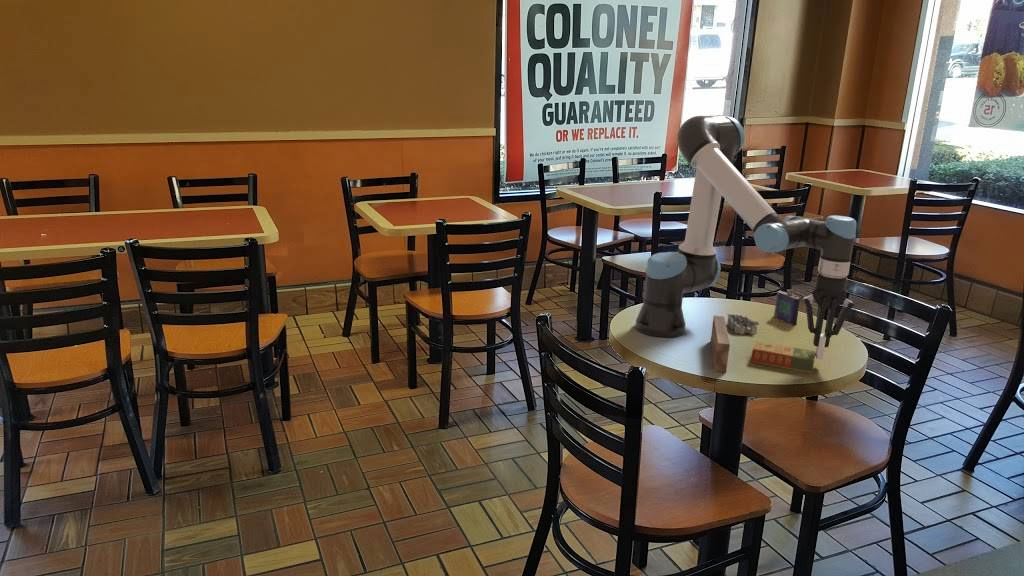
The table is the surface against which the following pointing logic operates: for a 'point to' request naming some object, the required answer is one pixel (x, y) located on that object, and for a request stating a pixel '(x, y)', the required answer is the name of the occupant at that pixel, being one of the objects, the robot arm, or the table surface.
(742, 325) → the egg carton
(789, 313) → the flask
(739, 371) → the table surface
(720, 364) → the board
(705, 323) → the table surface
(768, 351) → the carton
